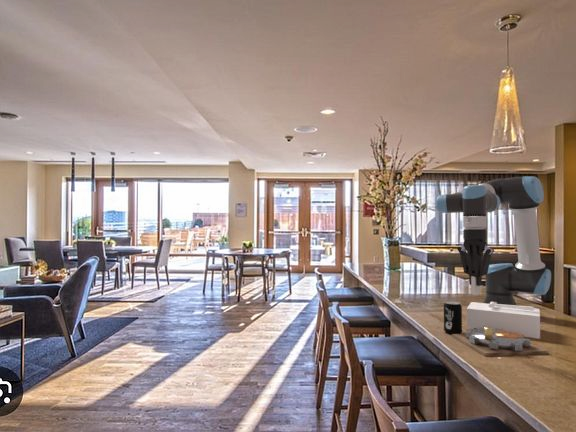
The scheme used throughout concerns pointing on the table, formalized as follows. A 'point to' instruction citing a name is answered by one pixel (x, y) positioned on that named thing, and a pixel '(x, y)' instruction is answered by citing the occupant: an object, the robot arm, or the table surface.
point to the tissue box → (504, 318)
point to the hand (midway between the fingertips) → (475, 294)
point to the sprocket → (497, 338)
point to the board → (500, 352)
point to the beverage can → (452, 317)
